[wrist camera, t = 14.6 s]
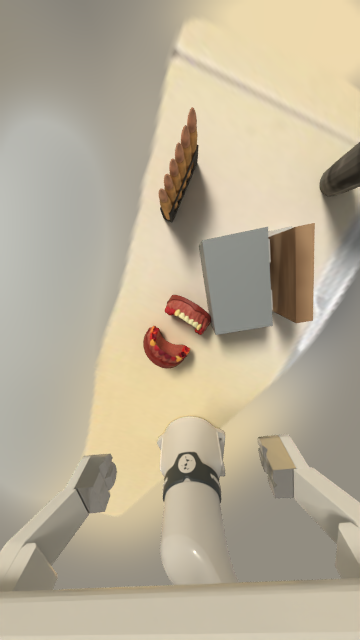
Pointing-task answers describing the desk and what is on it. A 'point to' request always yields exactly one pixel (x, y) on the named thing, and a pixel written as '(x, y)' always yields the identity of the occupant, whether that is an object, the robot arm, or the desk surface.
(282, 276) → the door
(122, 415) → the desk surface
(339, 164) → the beverage cup
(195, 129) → the ammunition clip
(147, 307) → the desk surface
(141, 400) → the desk surface
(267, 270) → the cabinet
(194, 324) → the teeth
